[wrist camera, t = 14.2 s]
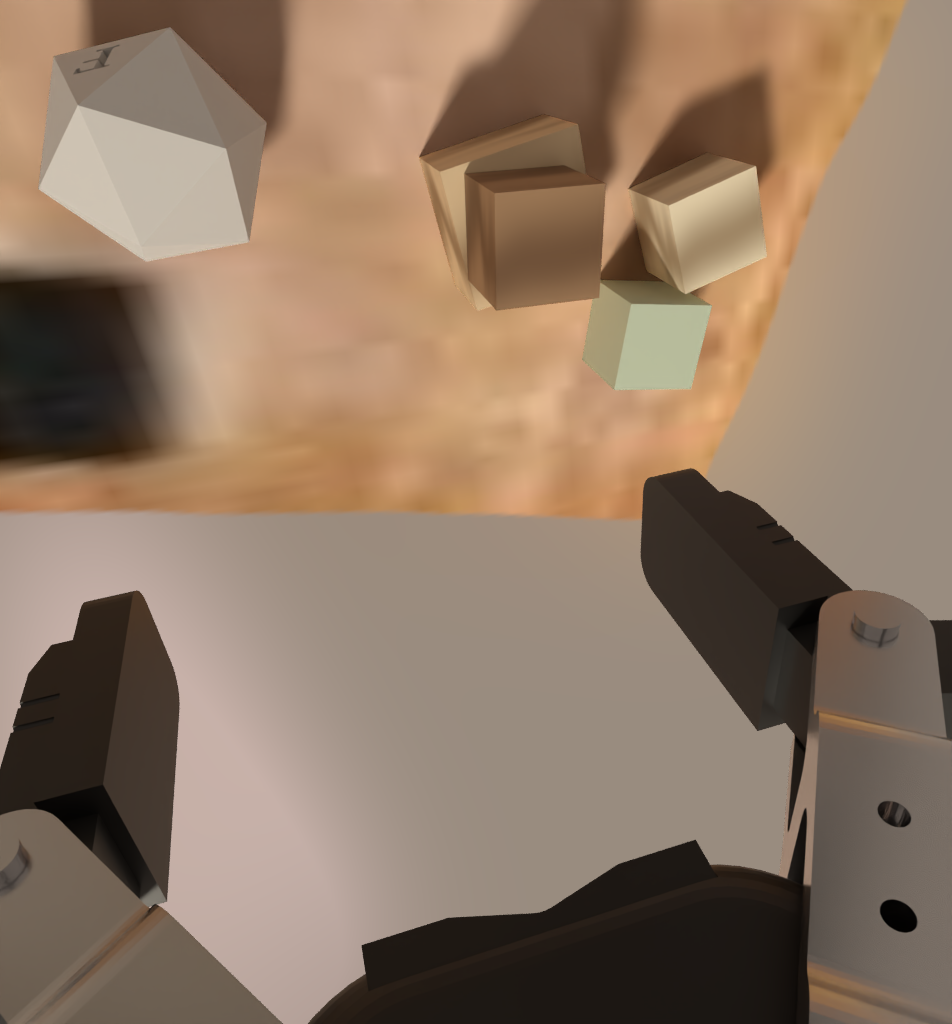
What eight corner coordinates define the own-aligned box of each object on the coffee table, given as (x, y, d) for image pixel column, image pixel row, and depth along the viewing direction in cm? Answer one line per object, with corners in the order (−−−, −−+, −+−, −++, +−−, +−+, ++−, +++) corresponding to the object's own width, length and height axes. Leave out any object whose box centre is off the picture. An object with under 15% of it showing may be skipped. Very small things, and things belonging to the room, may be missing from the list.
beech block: (627, 188, 44) (668, 205, 40) (706, 152, 44) (756, 165, 40) (645, 270, 47) (685, 294, 43) (719, 236, 47) (766, 256, 43)
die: (283, 80, 37) (163, -49, 28) (308, 268, 38) (200, 207, 28) (125, 116, 39) (-41, 6, 29) (152, 296, 40) (-3, 248, 30)
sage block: (595, 279, 46) (631, 303, 42) (670, 281, 48) (711, 305, 44) (581, 359, 49) (614, 390, 45) (652, 359, 50) (690, 389, 46)
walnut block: (464, 173, 37) (494, 193, 33) (564, 165, 38) (605, 183, 34) (468, 279, 39) (496, 310, 35) (561, 269, 40) (599, 297, 36)
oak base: (418, 156, 40) (439, 172, 36) (542, 113, 41) (578, 124, 37) (454, 284, 44) (477, 311, 40) (567, 244, 45) (601, 266, 41)
